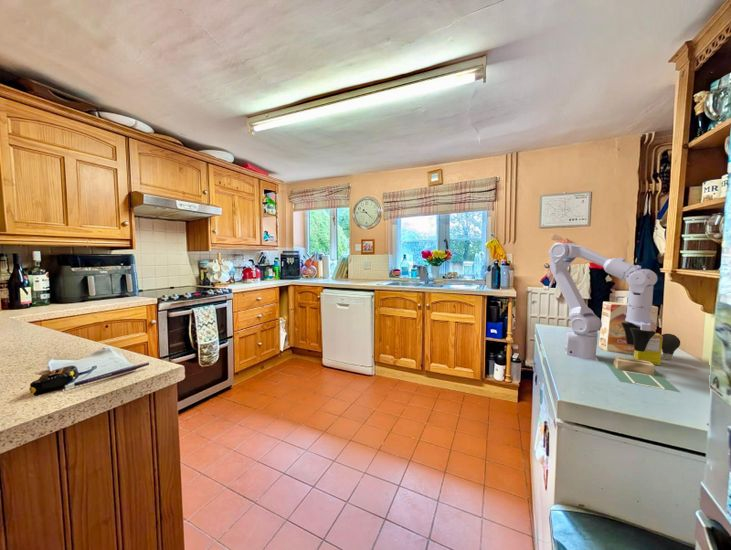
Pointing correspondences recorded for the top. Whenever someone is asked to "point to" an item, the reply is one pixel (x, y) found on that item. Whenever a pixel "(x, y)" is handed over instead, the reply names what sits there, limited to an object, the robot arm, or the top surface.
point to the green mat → (642, 378)
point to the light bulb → (669, 345)
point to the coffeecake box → (618, 327)
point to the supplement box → (651, 350)
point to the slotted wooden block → (634, 365)
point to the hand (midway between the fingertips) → (635, 347)
